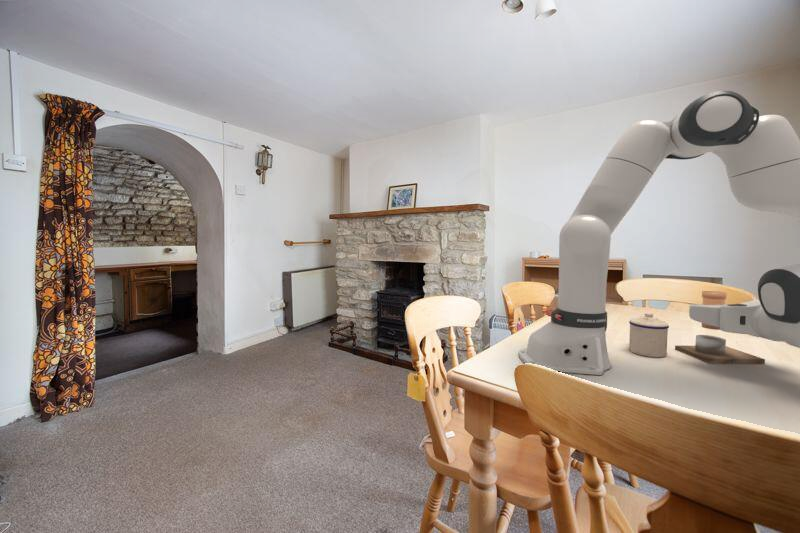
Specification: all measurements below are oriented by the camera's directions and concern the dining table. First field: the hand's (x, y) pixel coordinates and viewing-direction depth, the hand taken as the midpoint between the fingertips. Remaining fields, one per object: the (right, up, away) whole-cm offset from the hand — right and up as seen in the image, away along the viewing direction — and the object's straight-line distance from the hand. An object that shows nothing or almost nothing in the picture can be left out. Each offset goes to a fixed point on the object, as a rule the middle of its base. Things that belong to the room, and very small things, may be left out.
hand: (710, 307), depth 89 cm
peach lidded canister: (0, -6, 0) cm, 6 cm away
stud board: (+2, -14, 0) cm, 14 cm away
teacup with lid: (-15, -14, +5) cm, 21 cm away
